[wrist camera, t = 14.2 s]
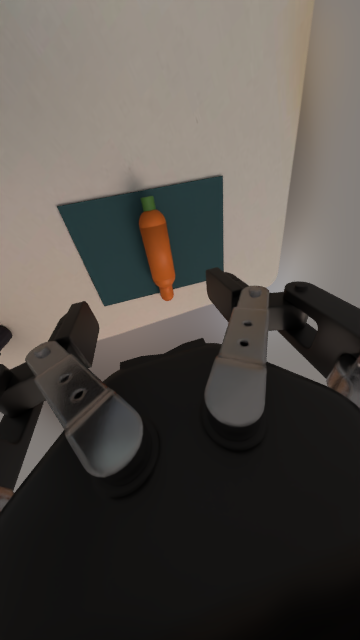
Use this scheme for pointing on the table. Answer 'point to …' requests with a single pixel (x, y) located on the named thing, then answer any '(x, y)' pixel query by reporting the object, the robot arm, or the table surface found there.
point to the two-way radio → (4, 337)
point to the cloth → (127, 245)
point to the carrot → (157, 247)
